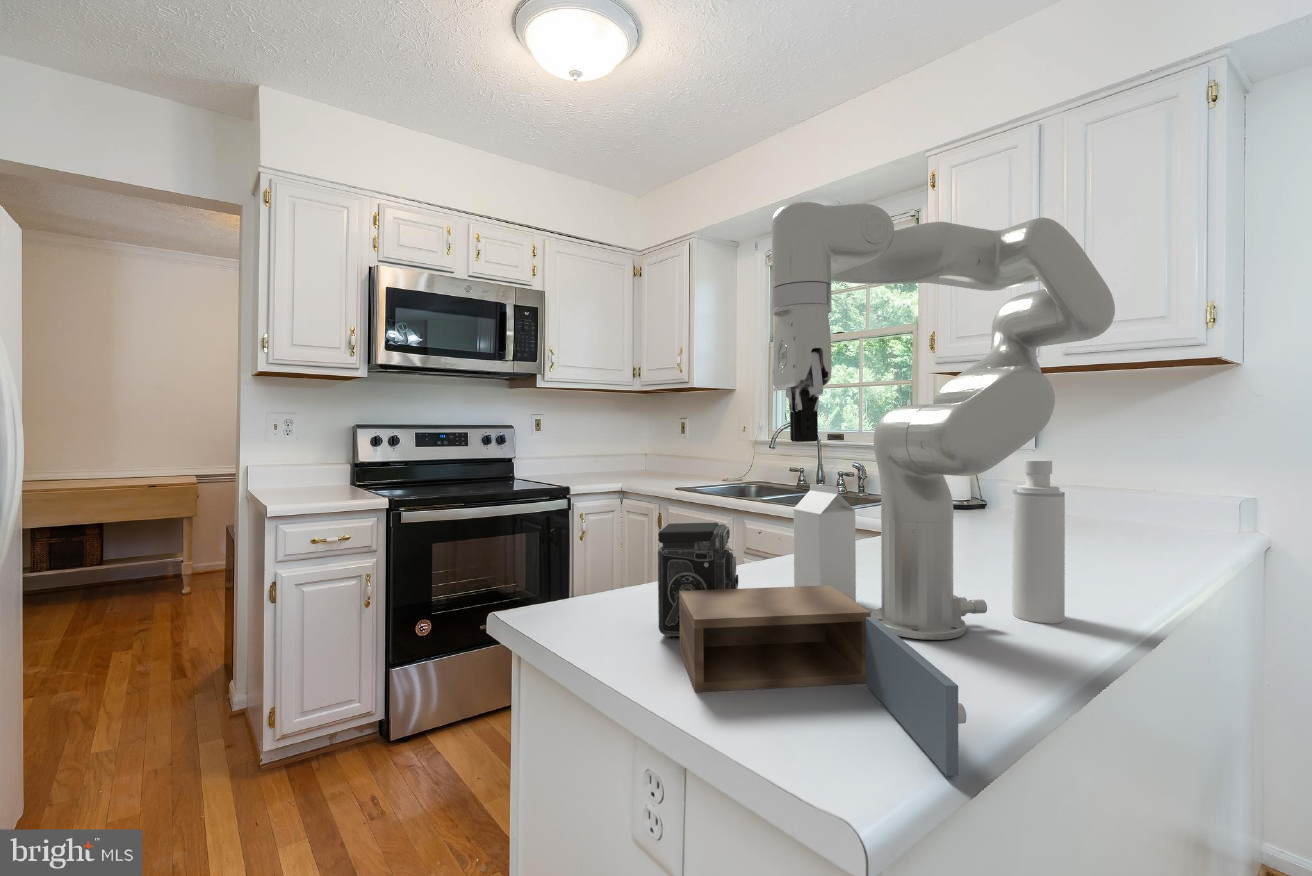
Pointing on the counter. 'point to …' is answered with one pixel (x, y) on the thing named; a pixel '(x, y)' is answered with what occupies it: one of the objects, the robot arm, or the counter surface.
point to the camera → (691, 566)
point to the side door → (915, 694)
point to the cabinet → (772, 638)
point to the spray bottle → (1038, 546)
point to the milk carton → (825, 541)
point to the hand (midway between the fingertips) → (804, 441)
